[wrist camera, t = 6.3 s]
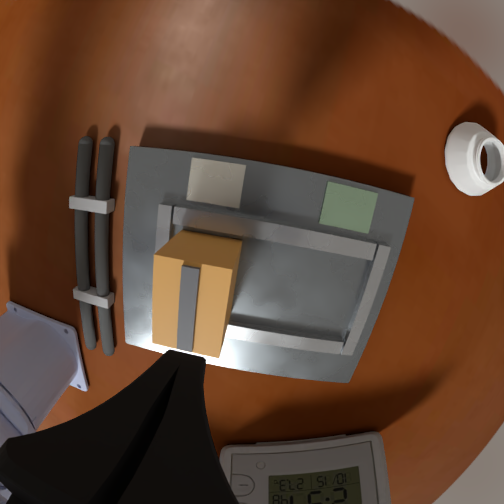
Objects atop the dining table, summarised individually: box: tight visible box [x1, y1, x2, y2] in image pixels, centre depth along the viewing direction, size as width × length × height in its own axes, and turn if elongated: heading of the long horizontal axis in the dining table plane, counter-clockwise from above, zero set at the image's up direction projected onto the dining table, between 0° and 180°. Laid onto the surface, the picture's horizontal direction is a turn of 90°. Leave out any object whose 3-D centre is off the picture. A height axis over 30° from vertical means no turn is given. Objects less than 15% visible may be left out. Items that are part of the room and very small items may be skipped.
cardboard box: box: [152, 230, 243, 358], centre depth 16 cm, size 4×5×5 cm
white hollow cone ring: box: [445, 122, 504, 196], centre depth 14 cm, size 5×3×5 cm
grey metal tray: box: [123, 146, 414, 383], centre depth 18 cm, size 17×14×2 cm
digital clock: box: [220, 431, 391, 504], centre depth 20 cm, size 16×9×11 cm, turn 87°
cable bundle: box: [69, 136, 115, 356], centre depth 19 cm, size 3×17×1 cm, turn 171°
